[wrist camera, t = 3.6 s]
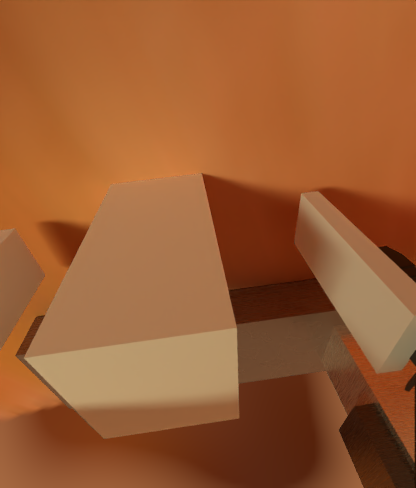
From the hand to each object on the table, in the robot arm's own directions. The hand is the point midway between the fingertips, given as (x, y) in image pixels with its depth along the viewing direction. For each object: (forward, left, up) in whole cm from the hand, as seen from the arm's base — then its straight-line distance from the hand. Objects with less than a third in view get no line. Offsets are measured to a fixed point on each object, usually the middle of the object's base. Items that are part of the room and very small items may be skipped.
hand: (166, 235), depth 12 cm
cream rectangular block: (0, 0, -1) cm, 1 cm away
